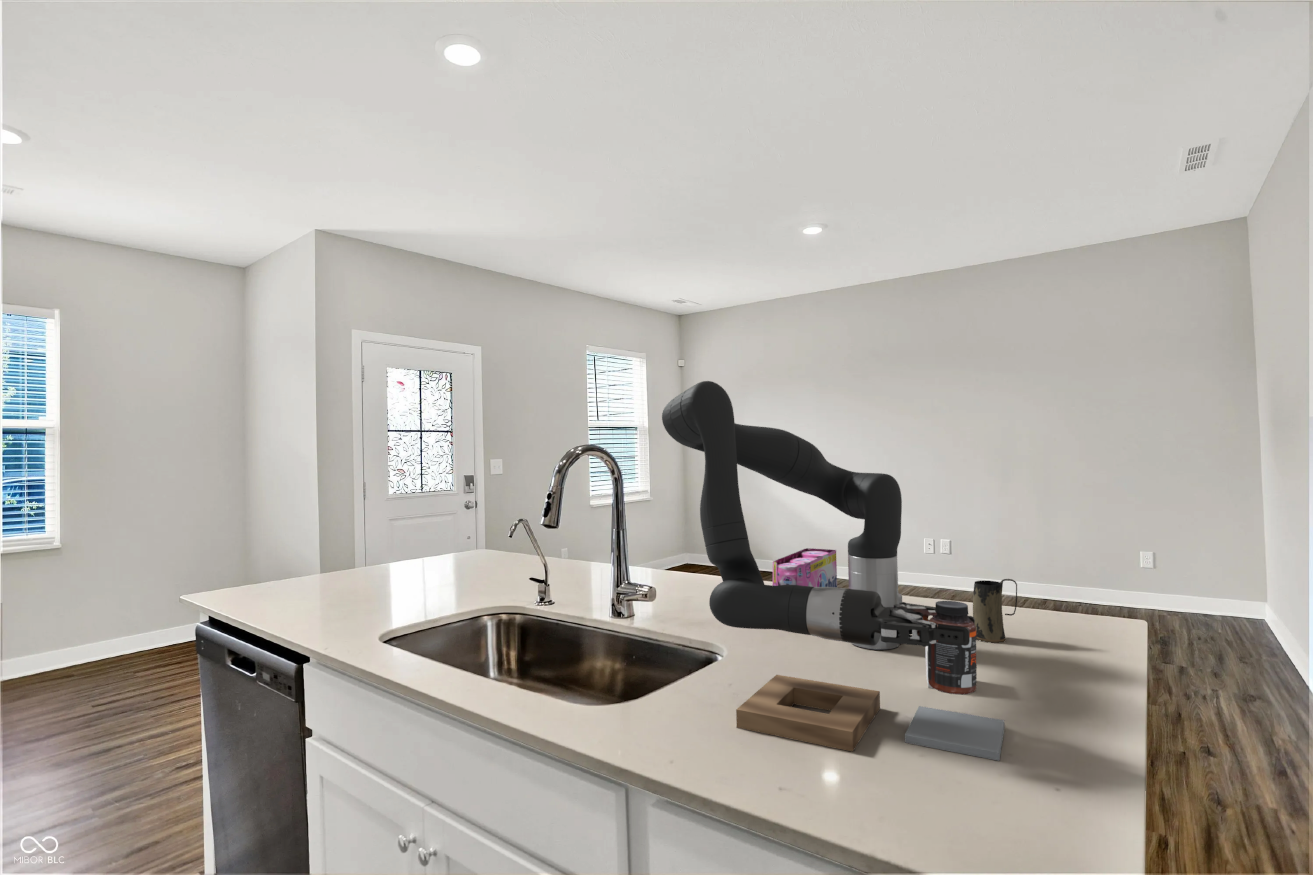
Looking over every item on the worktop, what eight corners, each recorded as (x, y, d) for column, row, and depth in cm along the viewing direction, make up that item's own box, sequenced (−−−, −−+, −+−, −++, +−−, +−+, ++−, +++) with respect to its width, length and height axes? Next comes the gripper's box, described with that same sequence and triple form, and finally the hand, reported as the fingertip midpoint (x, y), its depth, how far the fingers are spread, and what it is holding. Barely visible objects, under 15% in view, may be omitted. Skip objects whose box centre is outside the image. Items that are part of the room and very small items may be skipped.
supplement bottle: (982, 698, 86) (981, 609, 86) (932, 694, 88) (932, 607, 88) (970, 682, 92) (969, 599, 92) (924, 679, 93) (923, 597, 94)
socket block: (776, 690, 108) (776, 674, 108) (880, 708, 99) (879, 691, 100) (736, 727, 94) (736, 709, 94) (852, 751, 86) (852, 731, 86)
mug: (972, 640, 132) (971, 579, 132) (974, 633, 137) (972, 574, 137) (1018, 645, 128) (1016, 582, 128) (1018, 638, 133) (1016, 577, 133)
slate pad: (919, 712, 97) (919, 705, 97) (1004, 727, 92) (1004, 720, 92) (905, 742, 88) (904, 734, 88) (999, 760, 82) (999, 752, 82)
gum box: (803, 629, 143) (802, 565, 143) (769, 624, 147) (767, 562, 147) (838, 605, 163) (837, 549, 163) (807, 602, 167) (805, 547, 167)
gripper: (829, 598, 91) (965, 613, 83) (856, 580, 104) (977, 591, 95) (830, 654, 91) (966, 675, 83) (856, 629, 103) (977, 645, 95)
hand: (971, 630), depth 89 cm, fingers closed on supplement bottle, 6 cm apart
